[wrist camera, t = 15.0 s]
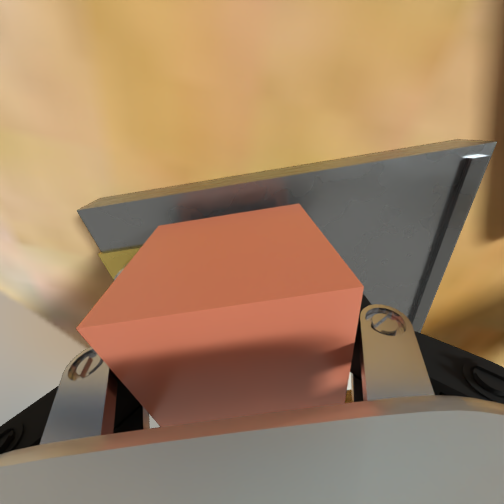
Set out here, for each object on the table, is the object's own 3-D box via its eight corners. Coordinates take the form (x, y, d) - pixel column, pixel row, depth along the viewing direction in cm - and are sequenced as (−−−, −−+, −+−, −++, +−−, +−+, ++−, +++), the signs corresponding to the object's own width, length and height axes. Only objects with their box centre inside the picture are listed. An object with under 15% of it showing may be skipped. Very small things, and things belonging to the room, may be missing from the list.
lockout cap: (299, 203, 9) (363, 286, 4) (302, 306, 12) (341, 418, 8) (158, 225, 9) (75, 328, 5) (197, 321, 12) (172, 440, 8)
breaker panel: (458, 139, 11) (527, 143, 9) (397, 332, 20) (422, 365, 17) (97, 198, 12) (56, 220, 9) (184, 362, 20) (176, 399, 17)
